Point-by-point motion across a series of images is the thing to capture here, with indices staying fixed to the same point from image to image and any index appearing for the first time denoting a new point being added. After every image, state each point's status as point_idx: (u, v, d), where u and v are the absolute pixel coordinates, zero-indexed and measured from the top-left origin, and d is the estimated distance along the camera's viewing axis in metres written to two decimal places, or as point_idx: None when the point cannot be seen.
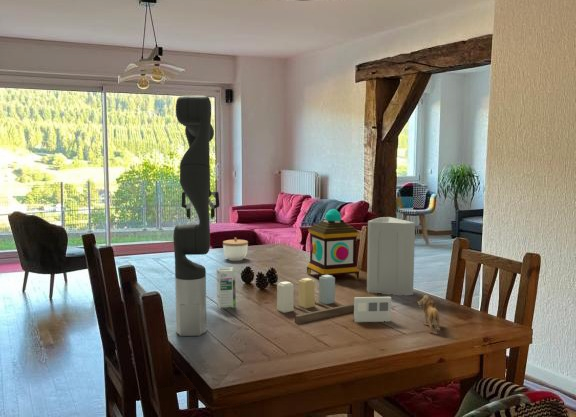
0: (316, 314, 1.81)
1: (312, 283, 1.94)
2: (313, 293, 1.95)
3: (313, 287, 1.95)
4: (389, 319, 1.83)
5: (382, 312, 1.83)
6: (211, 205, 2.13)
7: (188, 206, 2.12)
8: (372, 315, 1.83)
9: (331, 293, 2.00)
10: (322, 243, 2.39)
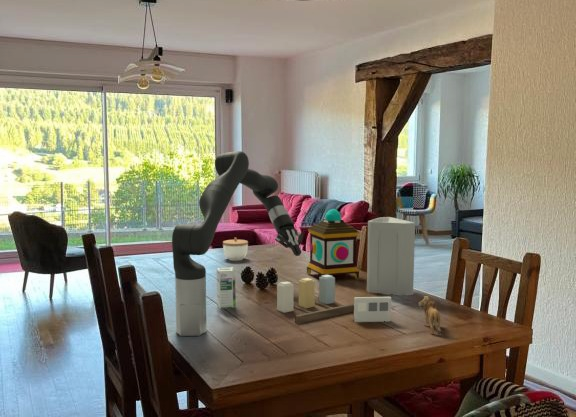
0: (316, 314, 1.81)
1: (312, 283, 1.94)
2: (313, 293, 1.95)
3: (313, 287, 1.95)
4: (389, 319, 1.83)
5: (382, 312, 1.83)
6: (296, 241, 2.16)
7: (292, 242, 2.15)
8: (372, 315, 1.83)
9: (331, 293, 2.00)
10: (322, 243, 2.39)
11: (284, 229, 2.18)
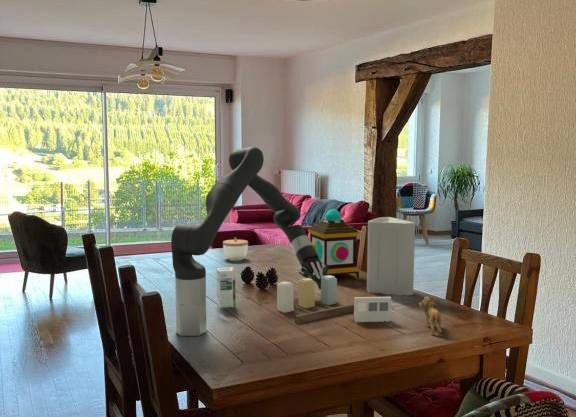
0: (316, 314, 1.81)
1: (312, 283, 1.94)
2: (313, 293, 1.95)
3: (313, 287, 1.95)
4: (389, 319, 1.83)
5: (382, 312, 1.83)
6: (321, 274, 2.04)
7: (318, 276, 2.03)
8: (372, 315, 1.83)
9: (333, 294, 1.99)
10: (322, 243, 2.39)
11: (308, 261, 2.06)
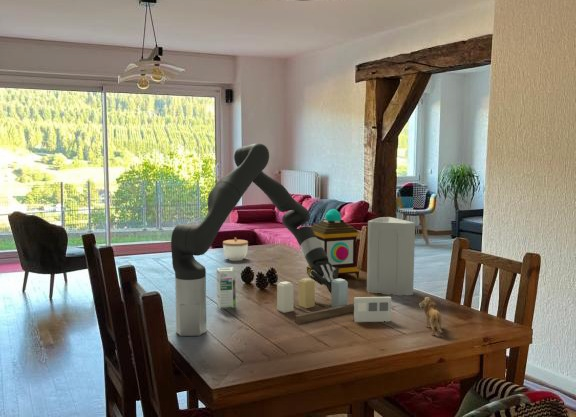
0: (316, 314, 1.81)
1: (312, 283, 1.94)
2: (313, 293, 1.95)
3: (313, 287, 1.95)
4: (389, 319, 1.83)
5: (382, 312, 1.83)
6: (331, 277, 2.00)
7: (328, 279, 1.98)
8: (372, 315, 1.83)
9: (344, 297, 1.94)
10: (322, 243, 2.39)
11: (318, 264, 2.01)
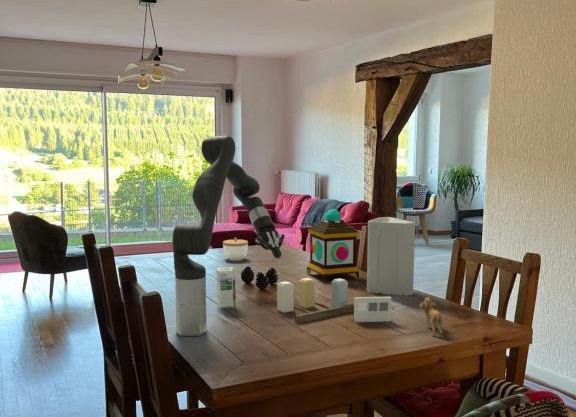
0: (316, 314, 1.81)
1: (312, 283, 1.94)
2: (313, 293, 1.95)
3: (313, 287, 1.95)
4: (389, 319, 1.83)
5: (382, 312, 1.83)
6: (276, 243, 2.12)
7: (273, 245, 2.10)
8: (372, 315, 1.83)
9: (344, 297, 1.94)
10: (322, 243, 2.39)
11: (264, 231, 2.13)
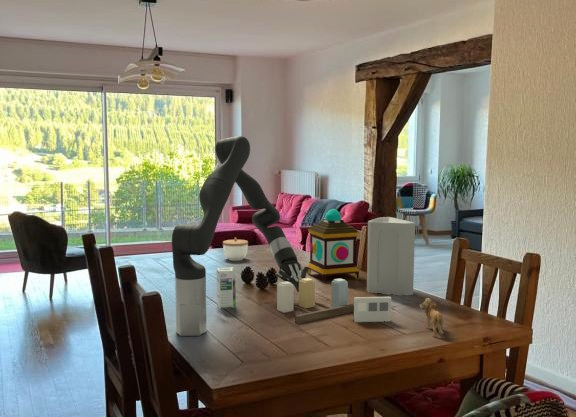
0: (316, 314, 1.81)
1: (312, 283, 1.94)
2: (313, 293, 1.95)
3: (313, 287, 1.95)
4: (389, 319, 1.83)
5: (382, 312, 1.83)
6: (299, 277, 2.00)
7: (296, 278, 1.99)
8: (372, 315, 1.83)
9: (344, 297, 1.94)
10: (322, 243, 2.39)
11: (286, 263, 2.02)
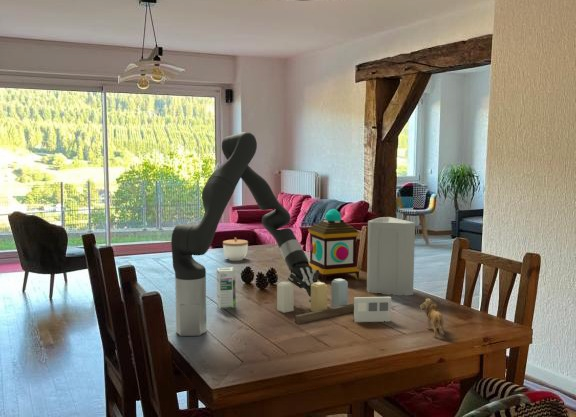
0: (316, 314, 1.81)
1: (324, 287, 1.88)
2: (326, 297, 1.89)
3: (326, 291, 1.89)
4: (389, 319, 1.83)
5: (382, 312, 1.83)
6: (311, 281, 1.94)
7: (307, 282, 1.93)
8: (372, 315, 1.83)
9: (344, 297, 1.94)
10: (322, 243, 2.39)
11: (298, 267, 1.96)
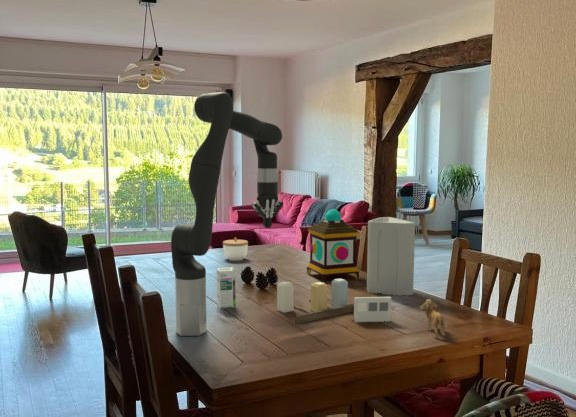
0: (316, 314, 1.81)
1: (324, 287, 1.88)
2: (326, 297, 1.89)
3: (326, 291, 1.89)
4: (389, 319, 1.83)
5: (382, 312, 1.83)
6: (271, 213, 2.06)
7: (267, 215, 2.05)
8: (372, 315, 1.83)
9: (344, 297, 1.94)
10: (322, 243, 2.39)
11: (265, 196, 2.04)
